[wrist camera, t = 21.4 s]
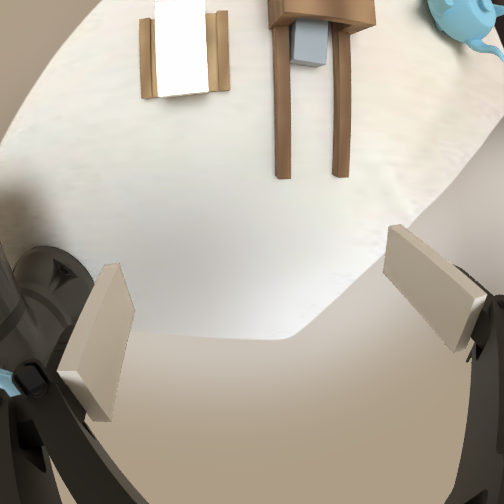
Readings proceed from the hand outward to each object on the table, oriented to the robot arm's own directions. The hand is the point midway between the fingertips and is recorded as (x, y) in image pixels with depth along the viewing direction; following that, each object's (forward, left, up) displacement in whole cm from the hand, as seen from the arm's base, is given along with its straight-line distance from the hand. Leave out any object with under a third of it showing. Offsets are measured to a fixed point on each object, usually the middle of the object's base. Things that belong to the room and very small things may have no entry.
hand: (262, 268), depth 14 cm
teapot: (+34, +26, -26) cm, 50 cm away
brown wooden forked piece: (+11, +10, -26) cm, 30 cm away
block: (-4, +14, -25) cm, 29 cm away
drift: (+10, +19, -26) cm, 33 cm away
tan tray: (-4, +14, -26) cm, 30 cm away
